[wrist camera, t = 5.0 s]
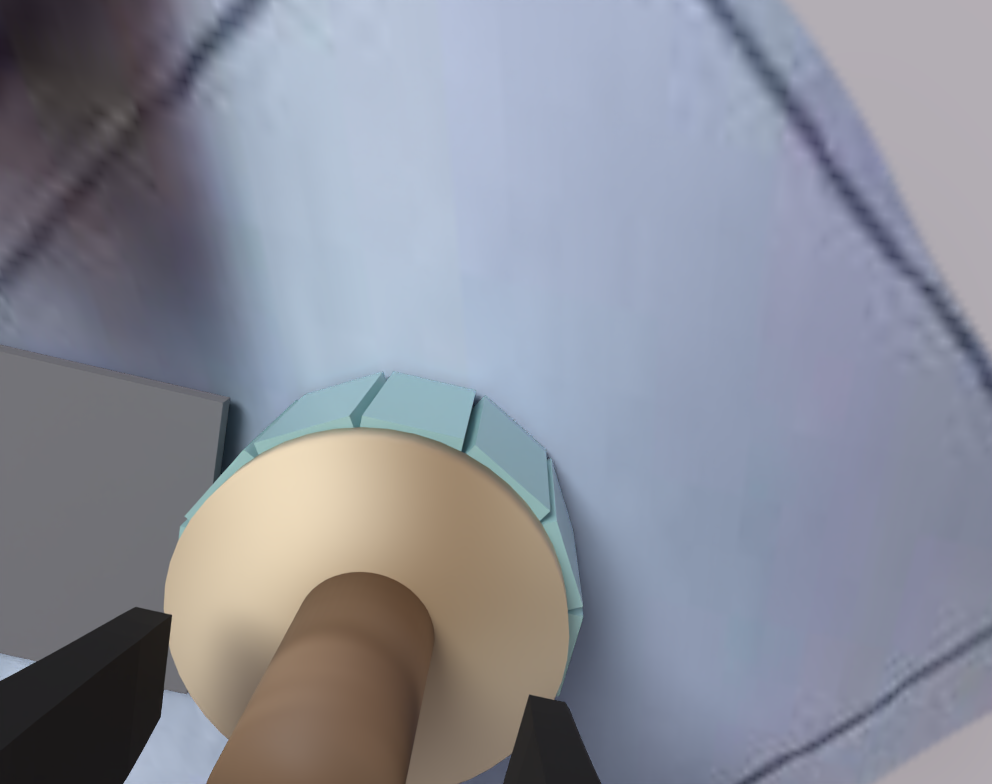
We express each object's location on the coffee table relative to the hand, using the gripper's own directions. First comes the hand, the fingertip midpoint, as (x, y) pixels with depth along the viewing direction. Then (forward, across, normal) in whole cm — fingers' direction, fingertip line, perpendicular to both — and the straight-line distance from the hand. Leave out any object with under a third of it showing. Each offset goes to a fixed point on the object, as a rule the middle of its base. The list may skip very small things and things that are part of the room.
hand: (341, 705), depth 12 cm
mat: (+6, +8, +2) cm, 10 cm away
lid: (+3, 0, 0) cm, 3 cm away
